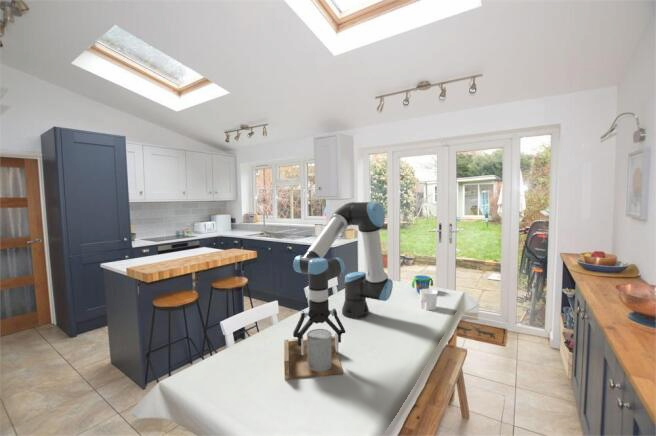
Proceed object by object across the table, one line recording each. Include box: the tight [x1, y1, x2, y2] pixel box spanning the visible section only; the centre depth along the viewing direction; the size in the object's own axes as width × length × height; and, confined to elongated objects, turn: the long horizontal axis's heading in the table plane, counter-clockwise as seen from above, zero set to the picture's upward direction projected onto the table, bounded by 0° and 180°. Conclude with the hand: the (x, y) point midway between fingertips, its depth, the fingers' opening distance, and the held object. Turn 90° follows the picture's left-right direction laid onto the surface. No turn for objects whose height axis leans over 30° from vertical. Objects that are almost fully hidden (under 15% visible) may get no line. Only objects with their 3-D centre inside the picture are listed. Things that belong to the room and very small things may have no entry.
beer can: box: [306, 328, 333, 372], centre depth 120 cm, size 10×10×12 cm
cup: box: [419, 288, 438, 311], centre depth 181 cm, size 10×10×10 cm
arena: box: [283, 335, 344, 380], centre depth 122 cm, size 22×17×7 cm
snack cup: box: [411, 274, 434, 293], centre depth 211 cm, size 16×10×10 cm
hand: (319, 351), depth 120 cm, fingers open, 13 cm apart
